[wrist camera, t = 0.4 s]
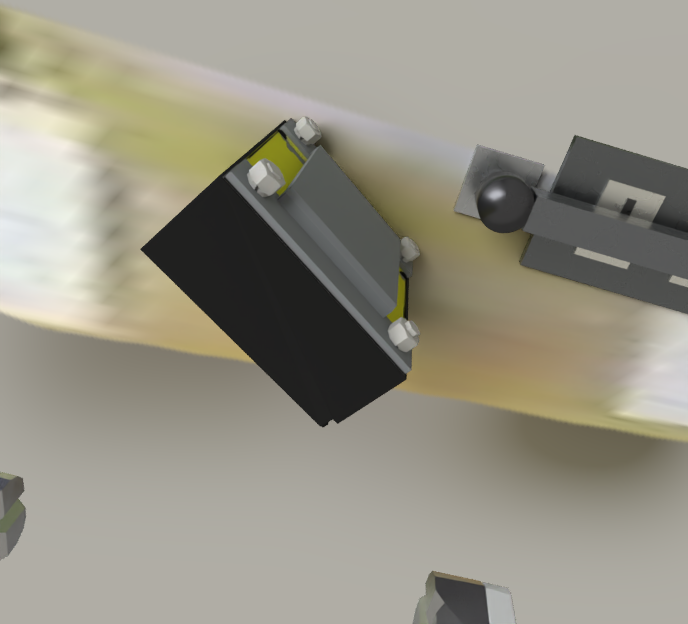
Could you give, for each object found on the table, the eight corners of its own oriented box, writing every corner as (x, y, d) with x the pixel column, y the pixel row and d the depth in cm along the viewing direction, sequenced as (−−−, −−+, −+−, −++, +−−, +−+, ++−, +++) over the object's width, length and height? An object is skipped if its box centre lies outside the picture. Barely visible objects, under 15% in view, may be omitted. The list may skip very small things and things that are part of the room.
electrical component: (427, 252, 57) (433, 362, 39) (346, 311, 61) (317, 436, 43) (303, 103, 52) (245, 151, 34) (222, 177, 56) (133, 255, 38)
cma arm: (467, 213, 52) (470, 225, 49) (486, 163, 50) (490, 173, 47) (742, 294, 53) (760, 310, 50) (771, 248, 51) (792, 263, 48)
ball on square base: (477, 144, 52) (480, 150, 50) (543, 164, 52) (549, 171, 50) (453, 209, 55) (455, 218, 53) (516, 227, 55) (520, 237, 53)
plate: (574, 135, 51) (578, 137, 50) (819, 208, 52) (828, 212, 51) (519, 261, 57) (521, 266, 55) (741, 326, 57) (747, 332, 56)
